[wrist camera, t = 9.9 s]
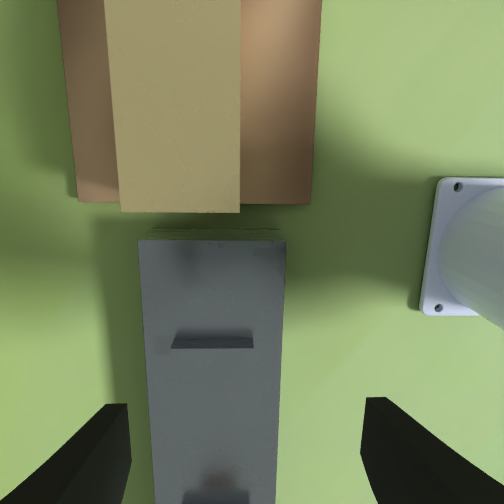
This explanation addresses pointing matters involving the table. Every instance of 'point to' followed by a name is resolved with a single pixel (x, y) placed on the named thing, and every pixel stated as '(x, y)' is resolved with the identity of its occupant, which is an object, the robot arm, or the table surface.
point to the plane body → (213, 361)
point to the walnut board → (251, 99)
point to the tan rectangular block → (176, 103)
